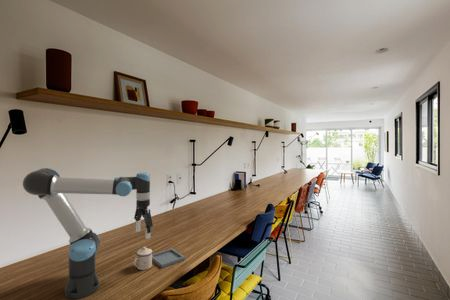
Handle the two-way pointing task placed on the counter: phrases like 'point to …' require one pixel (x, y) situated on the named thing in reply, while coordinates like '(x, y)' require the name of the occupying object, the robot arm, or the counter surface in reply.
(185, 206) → the counter surface
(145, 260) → the teacup with lid
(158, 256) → the cup tray
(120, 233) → the counter surface
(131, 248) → the counter surface
